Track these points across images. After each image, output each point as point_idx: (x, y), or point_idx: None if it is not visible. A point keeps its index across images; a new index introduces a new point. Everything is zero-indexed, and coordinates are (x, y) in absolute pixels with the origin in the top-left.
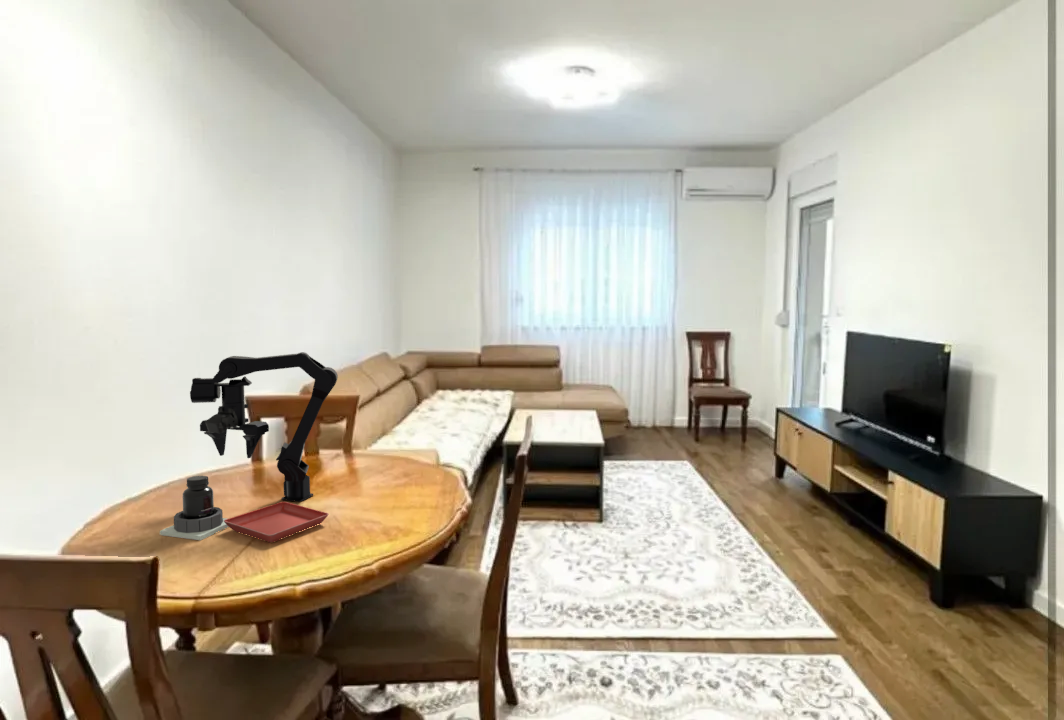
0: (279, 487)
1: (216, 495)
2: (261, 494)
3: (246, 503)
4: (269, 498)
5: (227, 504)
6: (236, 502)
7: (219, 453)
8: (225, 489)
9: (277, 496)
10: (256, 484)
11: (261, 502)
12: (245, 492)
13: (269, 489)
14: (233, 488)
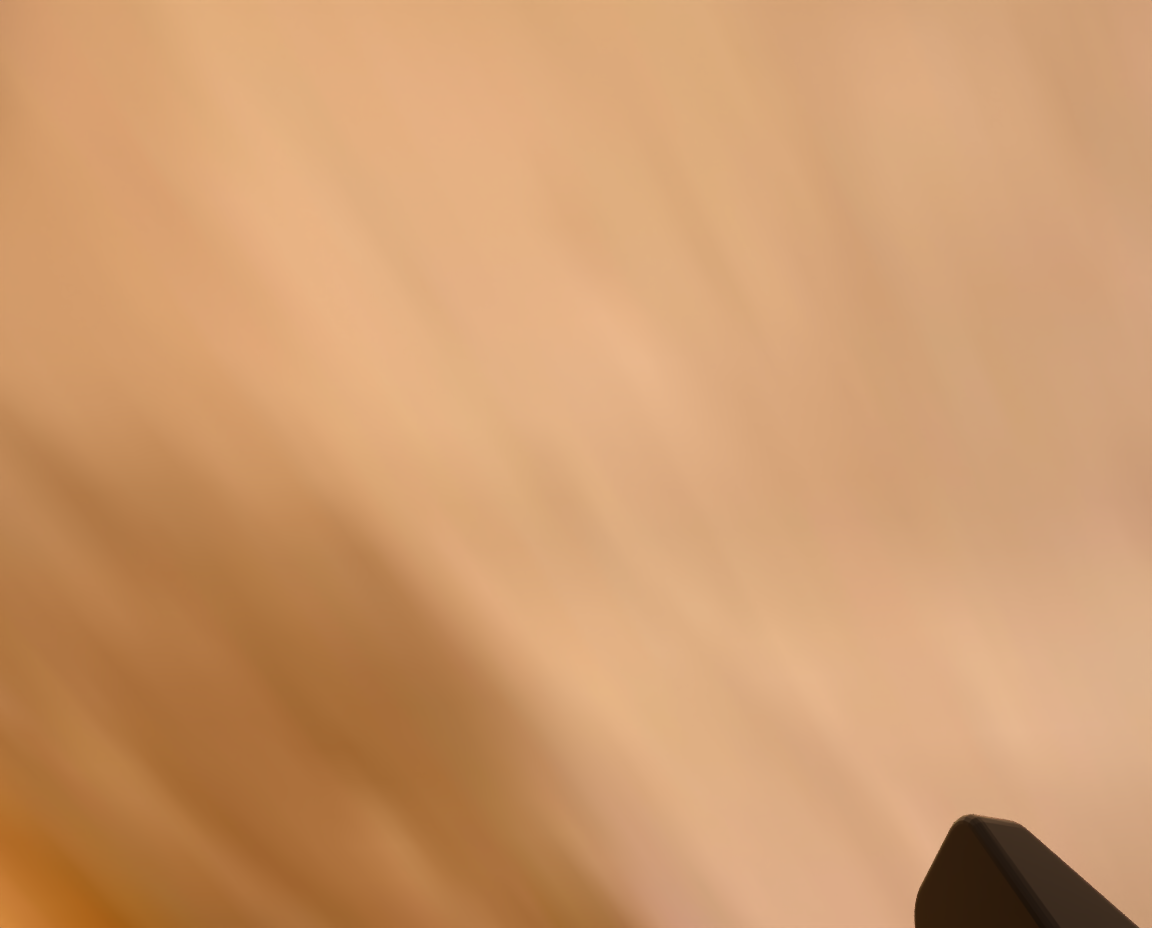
0: (240, 851)
1: (919, 506)
2: (300, 594)
3: (267, 186)
4: (67, 443)
5: (549, 111)
6: (457, 222)
7: (1059, 873)
8: (901, 733)
9: (13, 534)
10: (597, 919)
11: (58, 253)
12: (573, 650)
13: (320, 778)
14: (813, 774)
